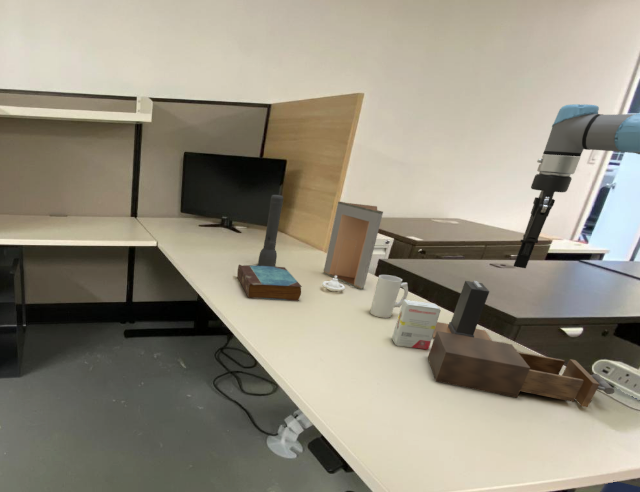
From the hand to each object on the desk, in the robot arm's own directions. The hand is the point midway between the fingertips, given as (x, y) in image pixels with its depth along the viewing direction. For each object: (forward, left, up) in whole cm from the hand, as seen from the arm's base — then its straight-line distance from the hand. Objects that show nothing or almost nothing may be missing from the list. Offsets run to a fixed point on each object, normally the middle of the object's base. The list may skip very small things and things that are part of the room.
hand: (519, 266), depth 125 cm
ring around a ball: (+45, -23, -22) cm, 55 cm away
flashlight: (+72, -42, -22) cm, 87 cm away
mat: (+8, +1, -22) cm, 23 cm away
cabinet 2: (+11, +30, -22) cm, 39 cm away
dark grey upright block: (+8, +1, -21) cm, 23 cm away
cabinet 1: (+39, -41, -22) cm, 61 cm away
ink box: (+23, +16, -22) cm, 36 cm away
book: (+67, -12, -22) cm, 72 cm away
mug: (+28, -6, -22) cm, 36 cm away
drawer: (-5, +30, -21) cm, 37 cm away
